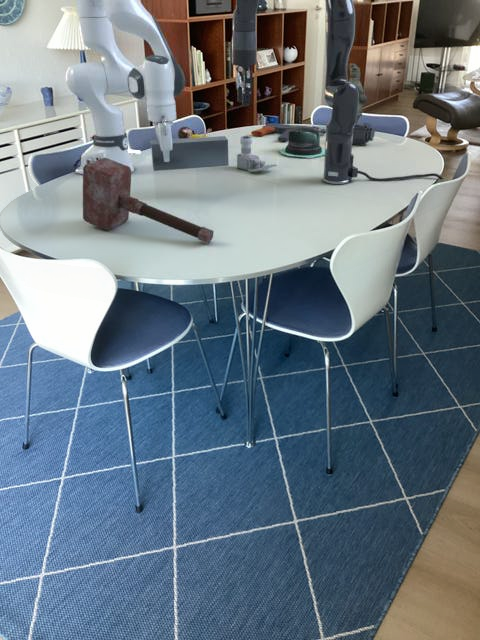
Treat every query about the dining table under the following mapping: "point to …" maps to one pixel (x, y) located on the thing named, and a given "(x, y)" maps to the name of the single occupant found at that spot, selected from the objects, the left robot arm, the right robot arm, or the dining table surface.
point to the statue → (356, 81)
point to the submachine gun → (281, 130)
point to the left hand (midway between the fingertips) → (165, 158)
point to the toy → (363, 134)
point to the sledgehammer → (123, 200)
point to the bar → (192, 153)
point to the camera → (249, 157)
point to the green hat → (303, 143)
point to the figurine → (189, 133)
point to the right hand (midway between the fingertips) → (243, 104)
